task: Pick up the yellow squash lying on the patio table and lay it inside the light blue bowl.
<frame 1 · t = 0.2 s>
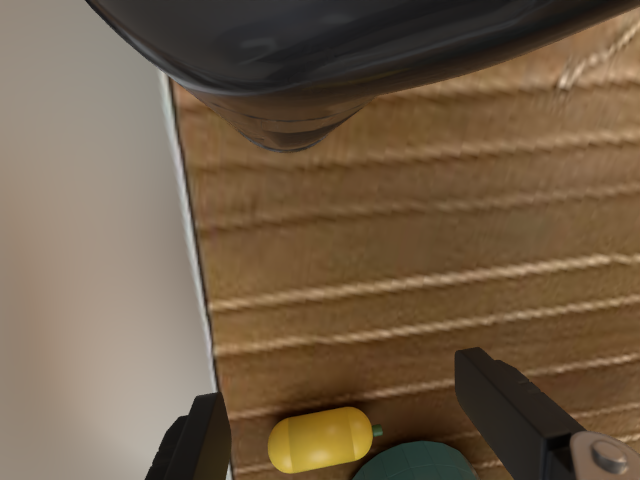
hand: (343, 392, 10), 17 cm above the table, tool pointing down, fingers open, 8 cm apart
squash: (318, 419, 31), on the table
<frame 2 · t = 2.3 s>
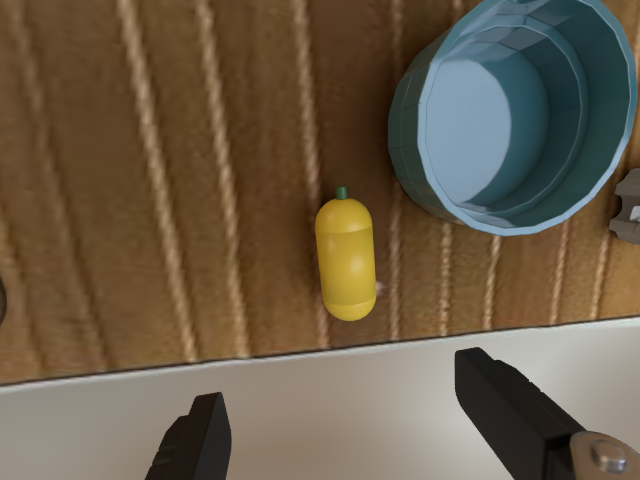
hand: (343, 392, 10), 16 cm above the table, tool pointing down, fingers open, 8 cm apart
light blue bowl: (473, 130, 25), on the table
squash: (340, 253, 26), on the table
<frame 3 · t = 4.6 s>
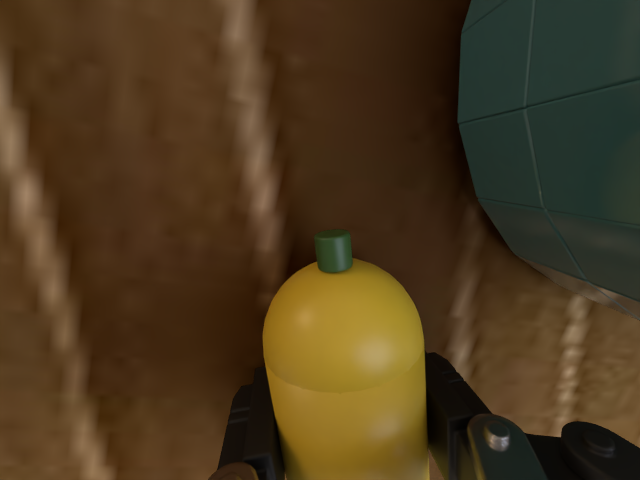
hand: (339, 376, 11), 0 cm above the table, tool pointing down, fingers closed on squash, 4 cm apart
squash: (338, 370, 11), on the table, touching gripper
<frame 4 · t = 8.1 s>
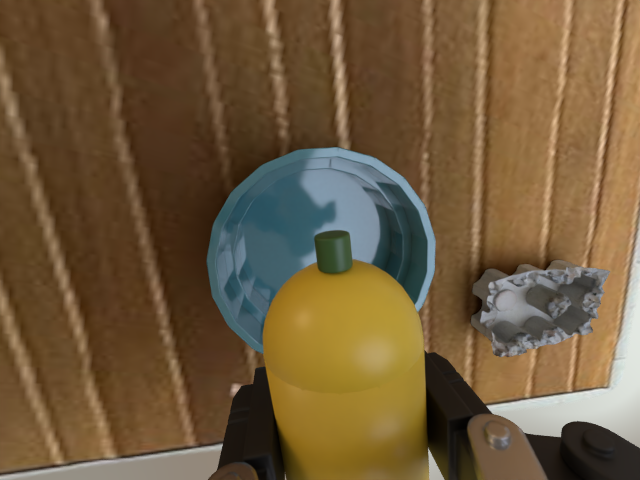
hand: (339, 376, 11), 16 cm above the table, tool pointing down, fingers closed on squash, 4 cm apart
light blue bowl: (316, 244, 26), on the table
egg carton: (518, 294, 30), on the table
squash: (338, 371, 11), point 15 cm above the table, touching gripper
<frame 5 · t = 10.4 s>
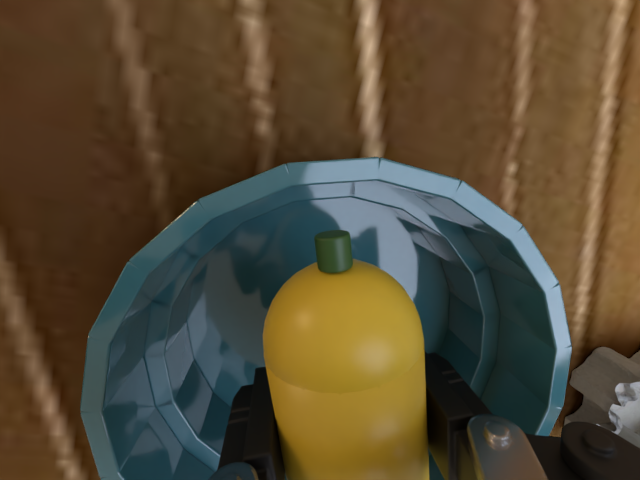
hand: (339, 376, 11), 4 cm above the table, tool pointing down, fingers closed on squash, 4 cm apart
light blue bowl: (323, 318, 15), on the table
egg carton: (637, 382, 19), on the table
squash: (338, 371, 11), point 4 cm above the table, touching gripper
when the fingers open (1 cm above the table, at t = 11.8 s): squash stays where it is, resting on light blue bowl.
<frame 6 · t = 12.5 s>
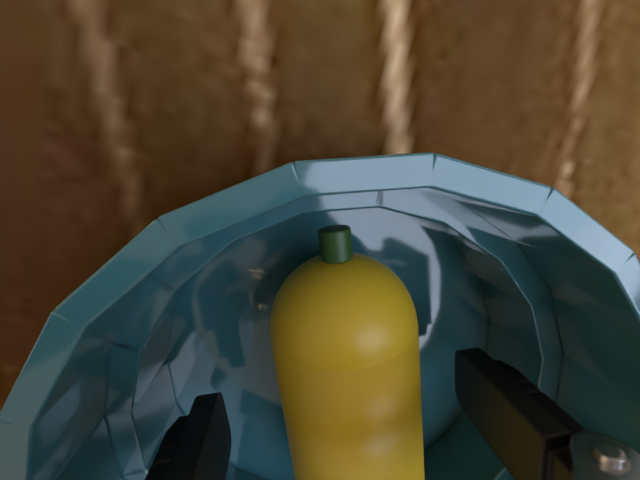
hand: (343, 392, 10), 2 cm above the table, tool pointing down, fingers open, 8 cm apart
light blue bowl: (334, 350, 13), on the table
squash: (337, 359, 12), point 1 cm above the table, touching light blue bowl
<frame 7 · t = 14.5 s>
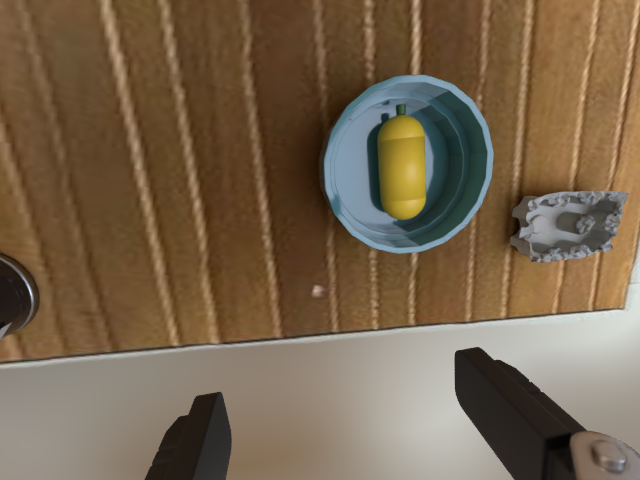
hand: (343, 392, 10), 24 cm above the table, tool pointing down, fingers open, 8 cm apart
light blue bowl: (389, 169, 33), on the table
egg carton: (550, 220, 36), on the table
squash: (391, 169, 32), point 1 cm above the table, tilted 8°, touching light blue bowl
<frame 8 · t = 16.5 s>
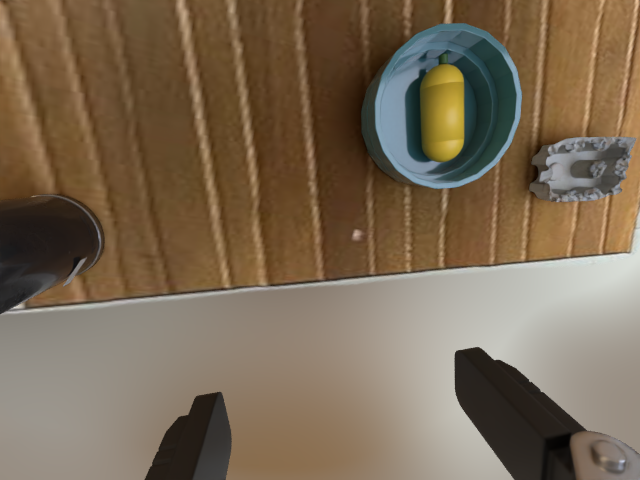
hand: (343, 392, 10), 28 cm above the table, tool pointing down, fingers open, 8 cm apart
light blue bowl: (423, 119, 36), on the table
egg carton: (565, 169, 40), on the table
squash: (426, 118, 35), point 1 cm above the table, tilted 21°, touching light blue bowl
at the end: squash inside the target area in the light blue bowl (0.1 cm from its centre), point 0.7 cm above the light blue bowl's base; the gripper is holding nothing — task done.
